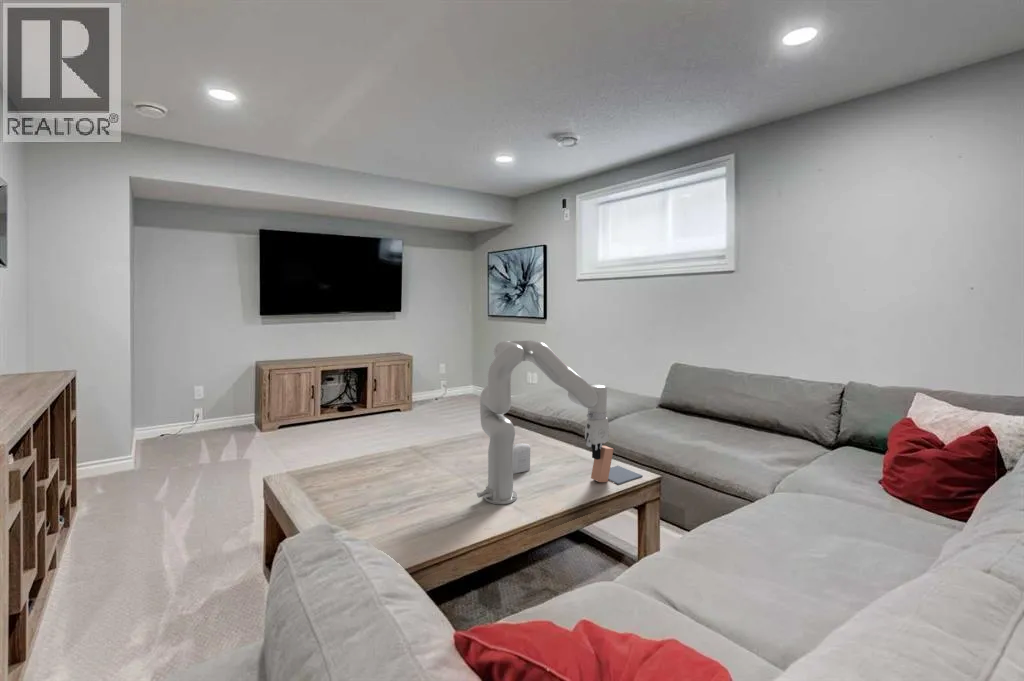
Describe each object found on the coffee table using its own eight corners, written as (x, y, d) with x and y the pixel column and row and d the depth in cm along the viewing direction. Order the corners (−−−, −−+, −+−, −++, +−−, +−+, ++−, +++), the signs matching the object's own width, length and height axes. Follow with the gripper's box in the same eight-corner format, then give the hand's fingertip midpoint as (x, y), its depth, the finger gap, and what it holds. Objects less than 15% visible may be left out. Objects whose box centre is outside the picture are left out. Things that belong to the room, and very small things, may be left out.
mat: (618, 484, 197) (618, 483, 197) (594, 473, 208) (594, 472, 208) (642, 476, 205) (642, 475, 205) (617, 466, 217) (617, 465, 217)
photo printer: (526, 467, 216) (526, 440, 214) (531, 470, 212) (531, 443, 211) (506, 472, 210) (506, 444, 209) (512, 475, 206) (512, 447, 205)
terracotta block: (599, 482, 197) (605, 448, 197) (590, 478, 201) (596, 445, 201) (607, 481, 200) (613, 448, 200) (599, 478, 204) (604, 445, 204)
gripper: (590, 419, 189) (589, 464, 191) (616, 414, 197) (615, 457, 199) (577, 415, 195) (576, 459, 197) (603, 410, 203) (602, 452, 205)
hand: (596, 458), depth 198 cm, fingers closed
